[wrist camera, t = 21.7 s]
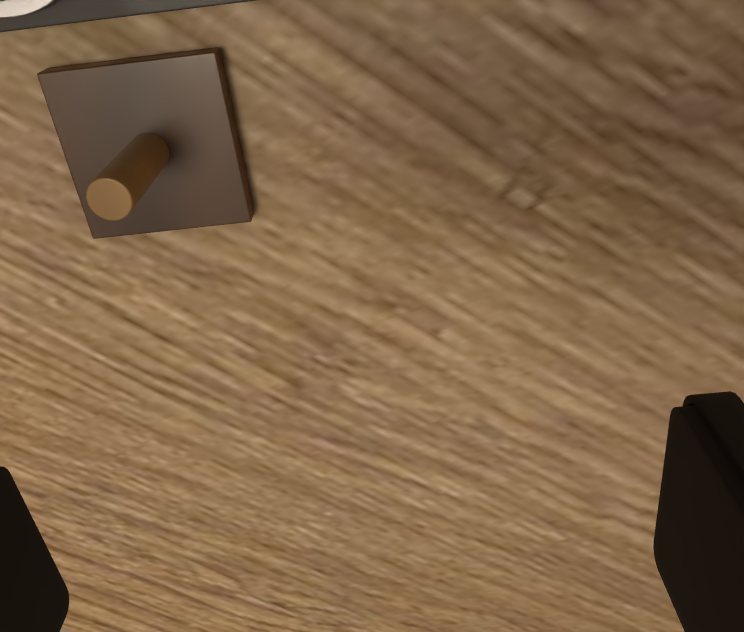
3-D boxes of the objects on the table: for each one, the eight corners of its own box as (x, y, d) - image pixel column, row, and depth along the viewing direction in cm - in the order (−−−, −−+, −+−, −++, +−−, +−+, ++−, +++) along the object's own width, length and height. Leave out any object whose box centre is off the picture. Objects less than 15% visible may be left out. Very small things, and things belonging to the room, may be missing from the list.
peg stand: (219, 47, 32) (184, 83, 25) (254, 212, 36) (231, 279, 29) (46, 68, 32) (-31, 109, 26) (100, 229, 36) (44, 298, 30)
